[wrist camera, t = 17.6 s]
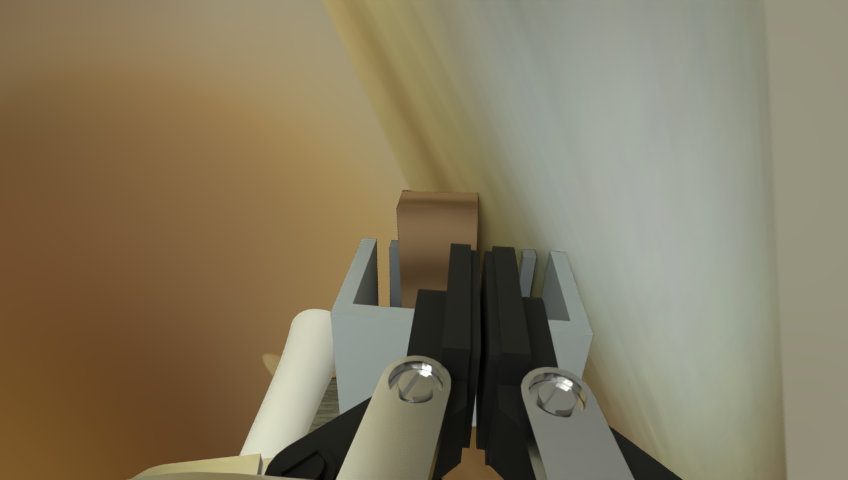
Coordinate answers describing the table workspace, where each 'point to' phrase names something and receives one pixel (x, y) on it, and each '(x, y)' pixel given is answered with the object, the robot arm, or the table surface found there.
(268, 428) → the cosmetic bottle
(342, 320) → the grey long box
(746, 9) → the table surface
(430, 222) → the brown rounded block
